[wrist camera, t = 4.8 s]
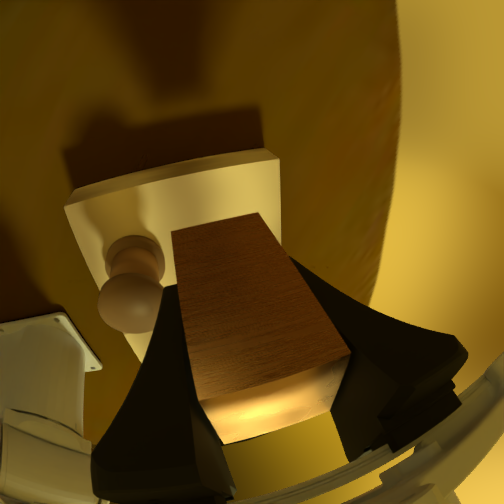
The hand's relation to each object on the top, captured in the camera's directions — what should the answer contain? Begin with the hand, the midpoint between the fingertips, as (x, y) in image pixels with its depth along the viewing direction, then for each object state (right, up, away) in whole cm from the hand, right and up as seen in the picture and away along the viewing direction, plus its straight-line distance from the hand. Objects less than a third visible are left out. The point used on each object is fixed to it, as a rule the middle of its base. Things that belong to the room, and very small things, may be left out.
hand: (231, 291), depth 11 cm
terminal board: (-4, -1, +10) cm, 11 cm away
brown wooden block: (-1, +1, +1) cm, 2 cm away
